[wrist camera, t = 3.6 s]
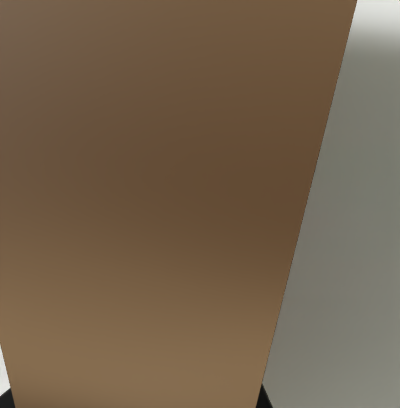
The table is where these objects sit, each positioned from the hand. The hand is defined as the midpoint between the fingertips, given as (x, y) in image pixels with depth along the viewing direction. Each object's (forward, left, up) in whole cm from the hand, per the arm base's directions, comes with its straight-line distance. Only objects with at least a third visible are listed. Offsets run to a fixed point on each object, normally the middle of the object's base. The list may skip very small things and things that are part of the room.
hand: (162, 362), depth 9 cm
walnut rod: (0, 0, -1) cm, 1 cm away
